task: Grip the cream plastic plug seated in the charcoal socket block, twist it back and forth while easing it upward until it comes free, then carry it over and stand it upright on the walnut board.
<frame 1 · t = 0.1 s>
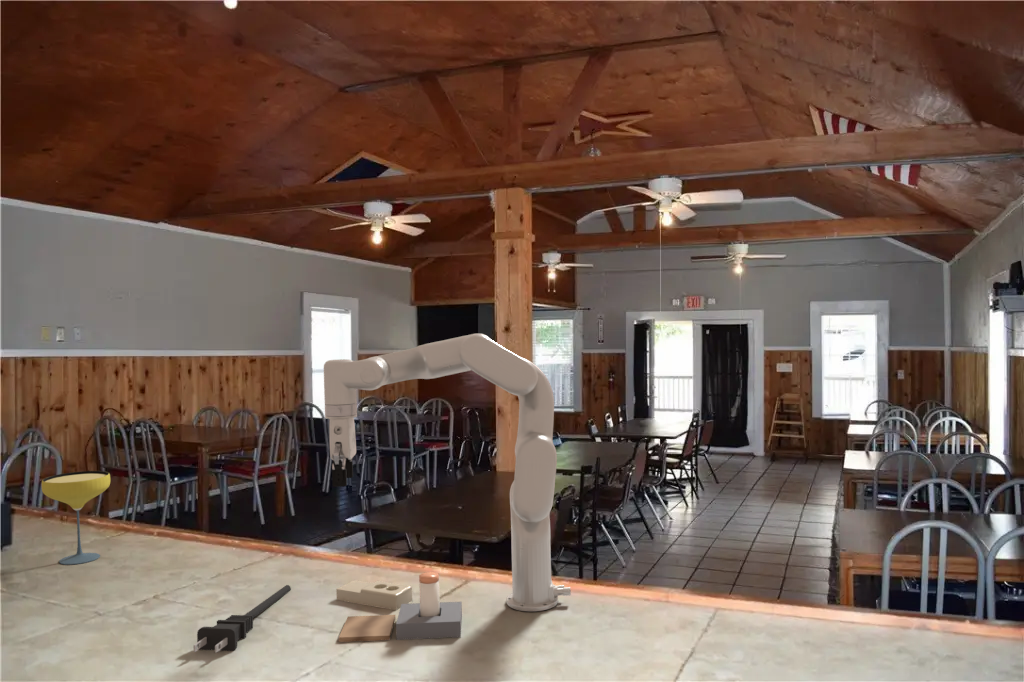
hand: (343, 481, 189), 31 cm above the counter, fingers open, 9 cm apart
plug: (429, 601, 178), in the socket block
board: (368, 630, 178), on the counter
electrical outlet: (374, 602, 197), on the counter
electrical plug: (250, 623, 185), on the counter
cocktail glass: (79, 559, 237), on the counter
socket block: (430, 627, 178), on the counter
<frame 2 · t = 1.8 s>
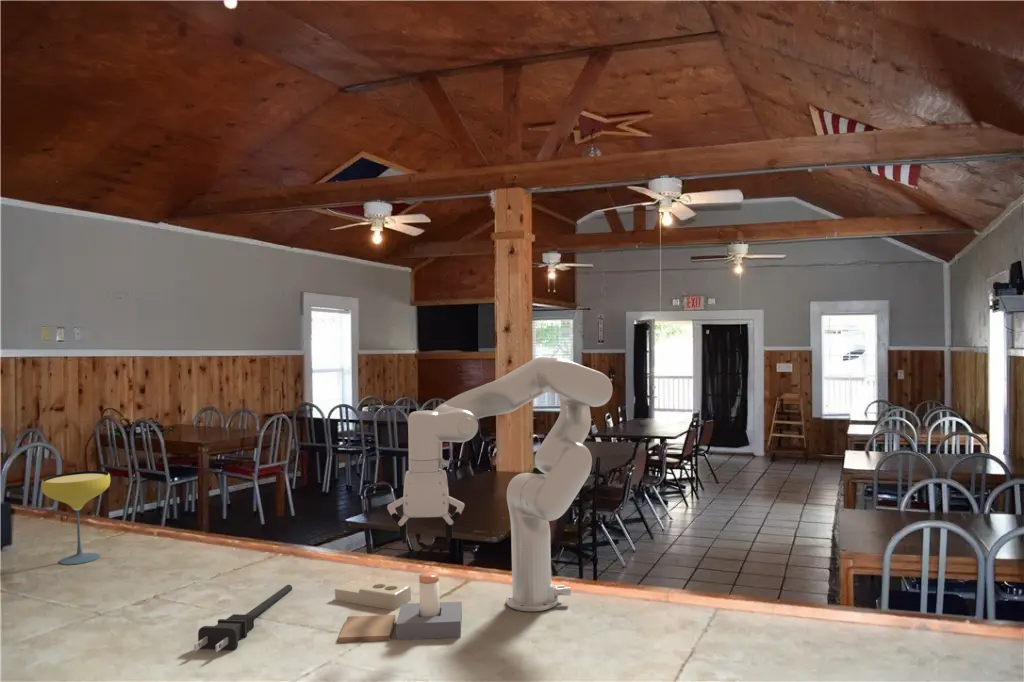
hand: (426, 541, 178), 20 cm above the counter, fingers open, 9 cm apart
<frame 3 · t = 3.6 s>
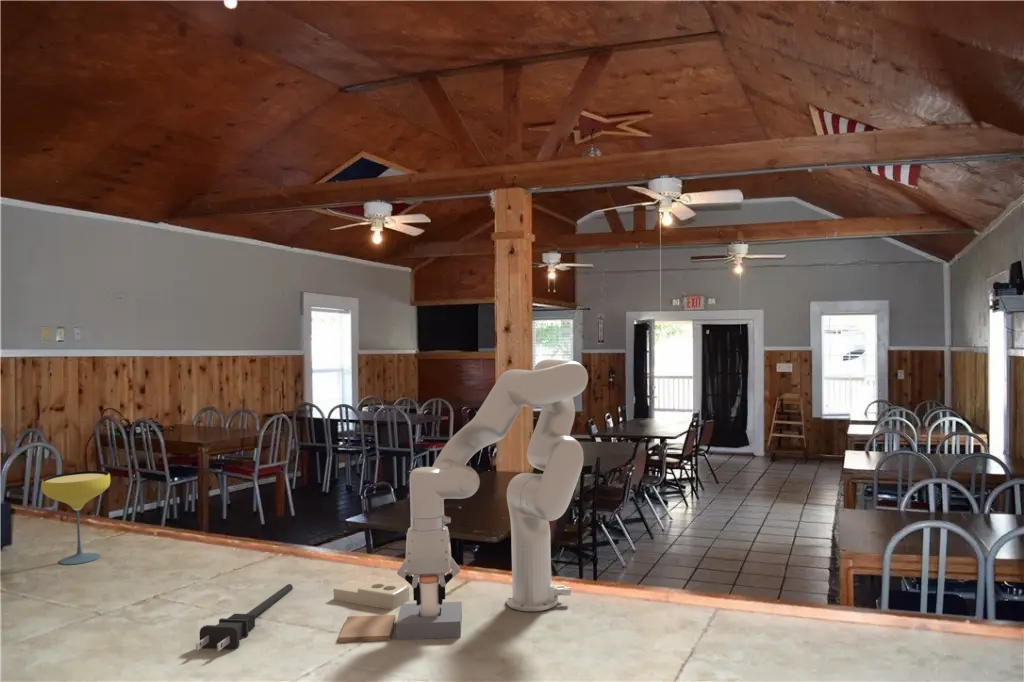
hand: (429, 602, 178), 6 cm above the counter, fingers closed on plug, 4 cm apart
plug: (429, 601, 178), in the socket block, touching gripper
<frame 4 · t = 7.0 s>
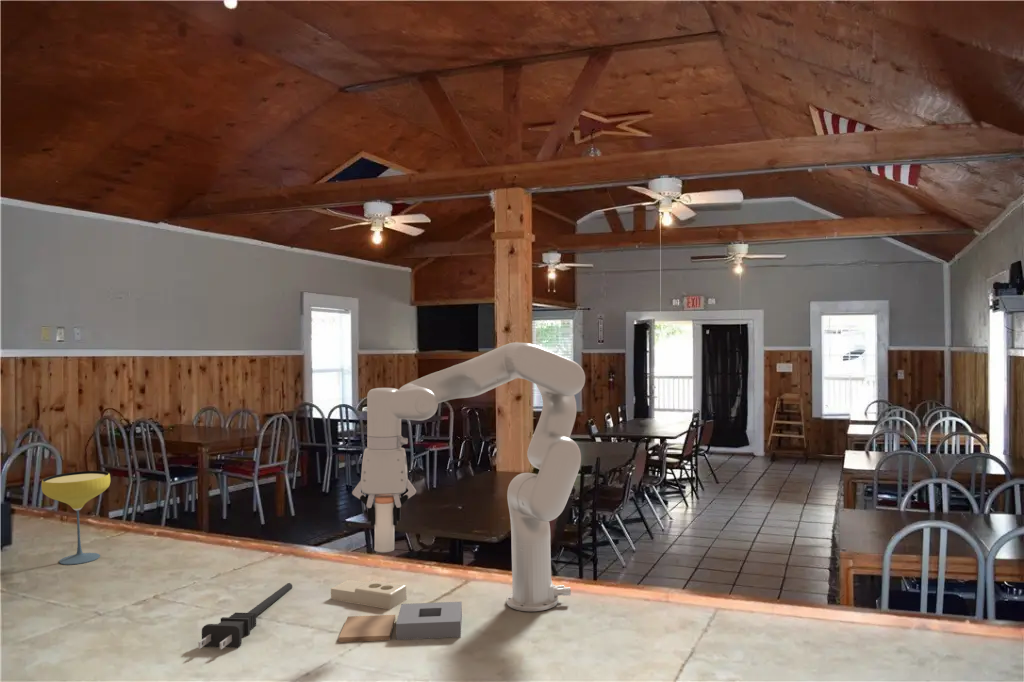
hand: (384, 523, 177), 24 cm above the counter, fingers closed on plug, 4 cm apart
plug: (384, 522, 177), point 24 cm above the counter, touching gripper
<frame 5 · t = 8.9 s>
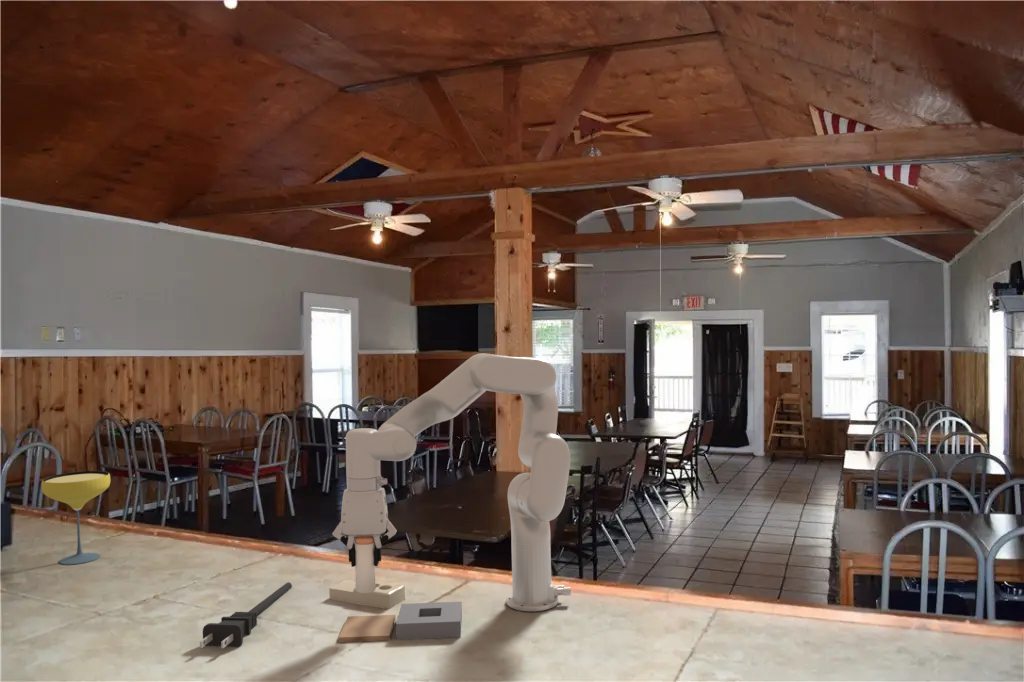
hand: (365, 563, 177), 15 cm above the counter, fingers closed on plug, 4 cm apart
plug: (365, 563, 177), point 15 cm above the counter, touching gripper
when the fingers open (8 cm above the counter, at t = 10.5 s): plug drops 1 cm, resting on board.
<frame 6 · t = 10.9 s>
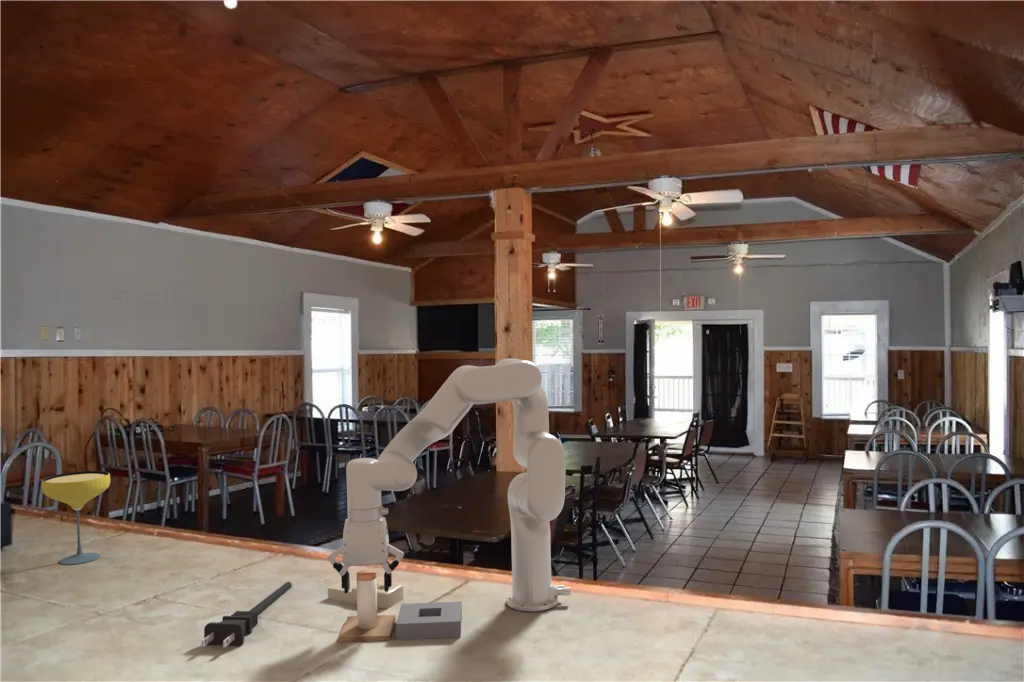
hand: (367, 590, 178), 9 cm above the counter, fingers open, 8 cm apart
plug: (367, 599, 178), on the board, point 7 cm above the counter
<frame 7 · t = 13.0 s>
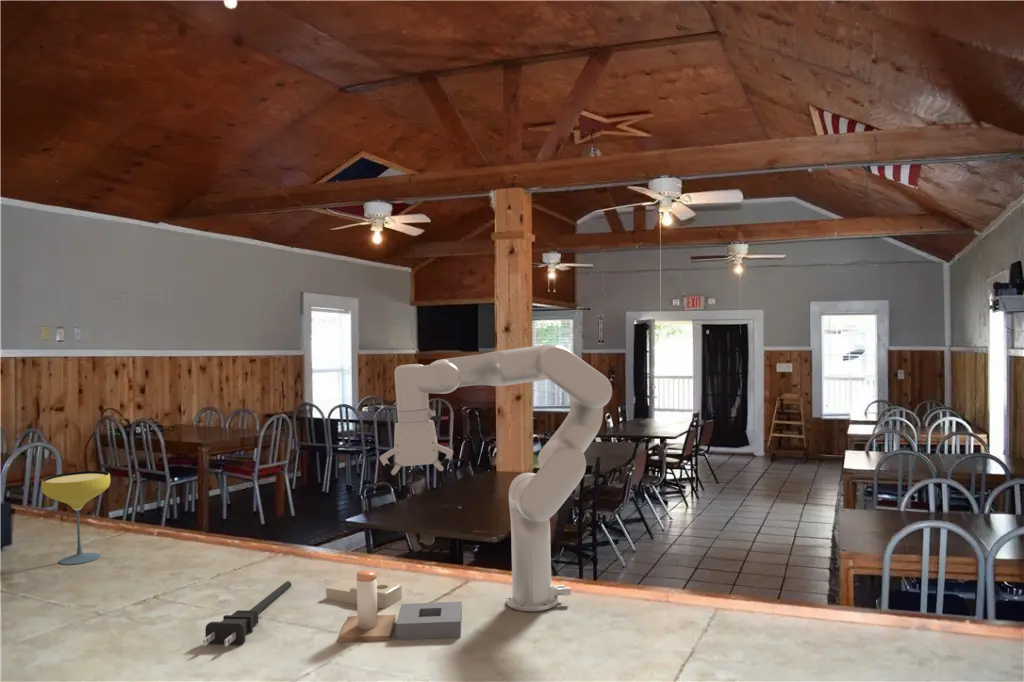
hand: (419, 488, 186), 30 cm above the counter, fingers open, 9 cm apart
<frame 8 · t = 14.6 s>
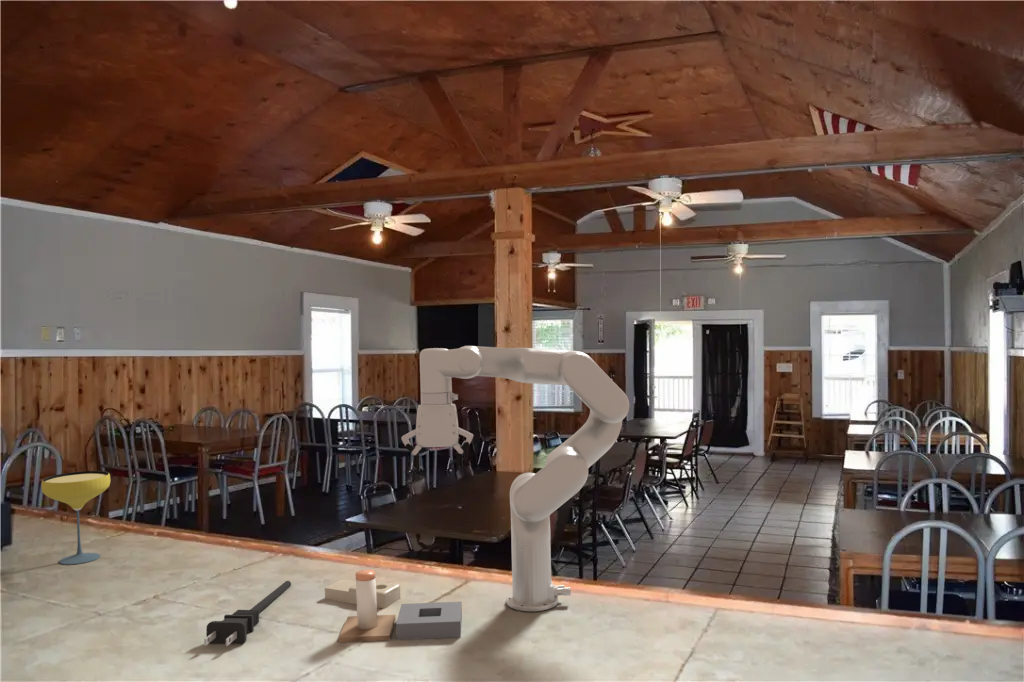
hand: (438, 470, 190), 33 cm above the counter, fingers open, 9 cm apart
at the end: plug inside the target area on the board (0.1 cm from its centre), point 7.0 cm above the board's base; plug tilted 1°; the gripper is holding nothing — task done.
